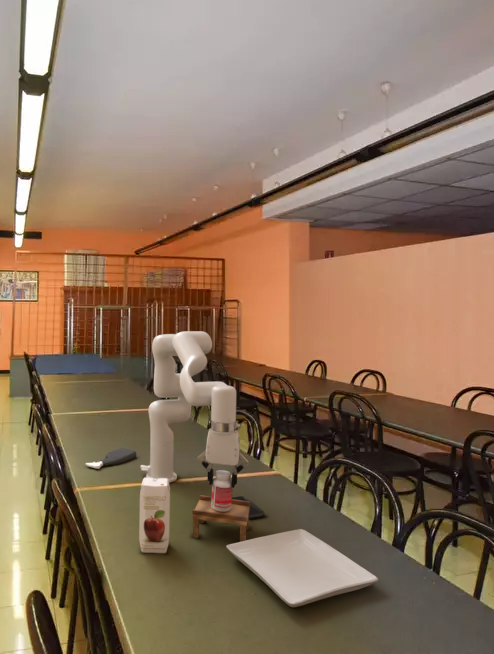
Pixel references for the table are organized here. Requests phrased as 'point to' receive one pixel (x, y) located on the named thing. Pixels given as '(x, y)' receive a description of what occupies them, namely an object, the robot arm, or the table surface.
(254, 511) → the phone
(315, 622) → the table surface
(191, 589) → the table surface
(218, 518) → the stand
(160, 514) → the juice carton
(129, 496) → the table surface
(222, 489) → the pill bottle
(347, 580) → the square plate
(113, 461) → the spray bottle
